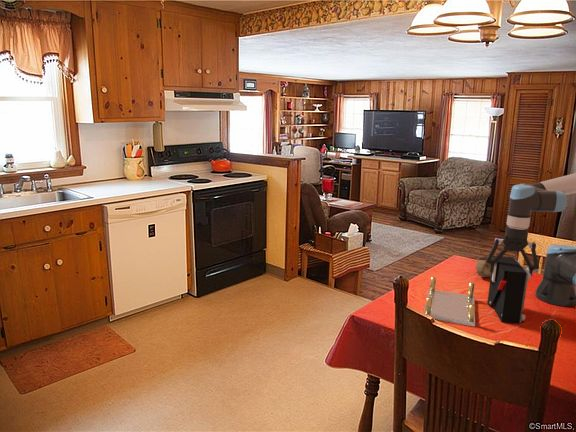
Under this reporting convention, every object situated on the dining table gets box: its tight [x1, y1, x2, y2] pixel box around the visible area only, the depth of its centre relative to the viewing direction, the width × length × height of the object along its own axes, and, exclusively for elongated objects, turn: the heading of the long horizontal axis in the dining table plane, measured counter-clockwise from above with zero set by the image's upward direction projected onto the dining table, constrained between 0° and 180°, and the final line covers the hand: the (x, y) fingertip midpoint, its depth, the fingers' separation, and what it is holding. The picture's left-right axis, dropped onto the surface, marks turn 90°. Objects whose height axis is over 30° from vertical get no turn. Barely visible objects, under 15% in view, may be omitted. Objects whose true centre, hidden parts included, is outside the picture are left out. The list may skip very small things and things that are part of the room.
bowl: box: [475, 255, 493, 278], centre depth 211 cm, size 18×14×10 cm
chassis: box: [423, 276, 476, 327], centre depth 176 cm, size 18×26×8 cm
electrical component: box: [486, 255, 532, 325], centre depth 171 cm, size 18×10×20 cm, turn 168°
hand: (509, 283), depth 171 cm, fingers closed on electrical component, 10 cm apart
